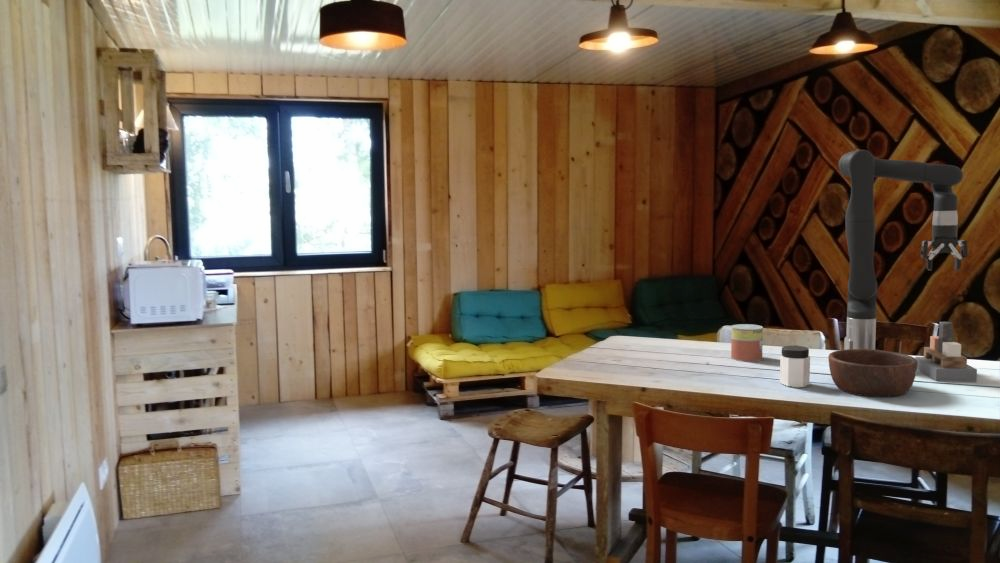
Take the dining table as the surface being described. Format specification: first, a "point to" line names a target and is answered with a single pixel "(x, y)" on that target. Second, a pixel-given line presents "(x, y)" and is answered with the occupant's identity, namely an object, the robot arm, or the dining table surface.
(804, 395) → the dining table surface
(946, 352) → the block
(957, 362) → the pallet
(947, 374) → the dock
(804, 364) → the jar
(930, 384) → the dining table surface
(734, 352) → the canned food
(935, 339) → the cargo terracotta
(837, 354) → the wooden bowl
